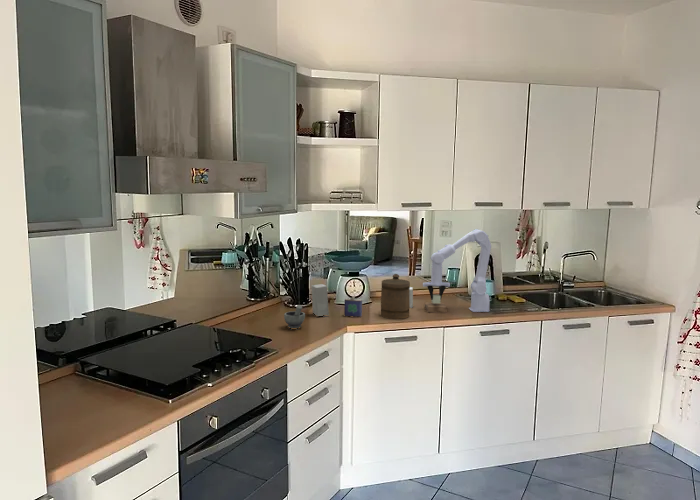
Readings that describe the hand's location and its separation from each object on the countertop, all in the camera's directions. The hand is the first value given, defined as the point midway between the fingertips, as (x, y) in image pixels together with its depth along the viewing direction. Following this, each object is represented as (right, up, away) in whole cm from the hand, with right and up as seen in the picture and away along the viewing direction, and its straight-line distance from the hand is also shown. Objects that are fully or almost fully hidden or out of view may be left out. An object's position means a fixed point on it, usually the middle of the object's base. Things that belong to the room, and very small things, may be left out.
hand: (435, 299), depth 293 cm
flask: (-45, -8, -14) cm, 48 cm away
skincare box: (-62, -7, -13) cm, 64 cm away
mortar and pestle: (-73, -10, -37) cm, 82 cm away
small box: (-16, -5, +9) cm, 19 cm away
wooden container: (-23, -8, -12) cm, 27 cm away
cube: (0, -2, 0) cm, 2 cm away
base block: (0, -6, +1) cm, 6 cm away
